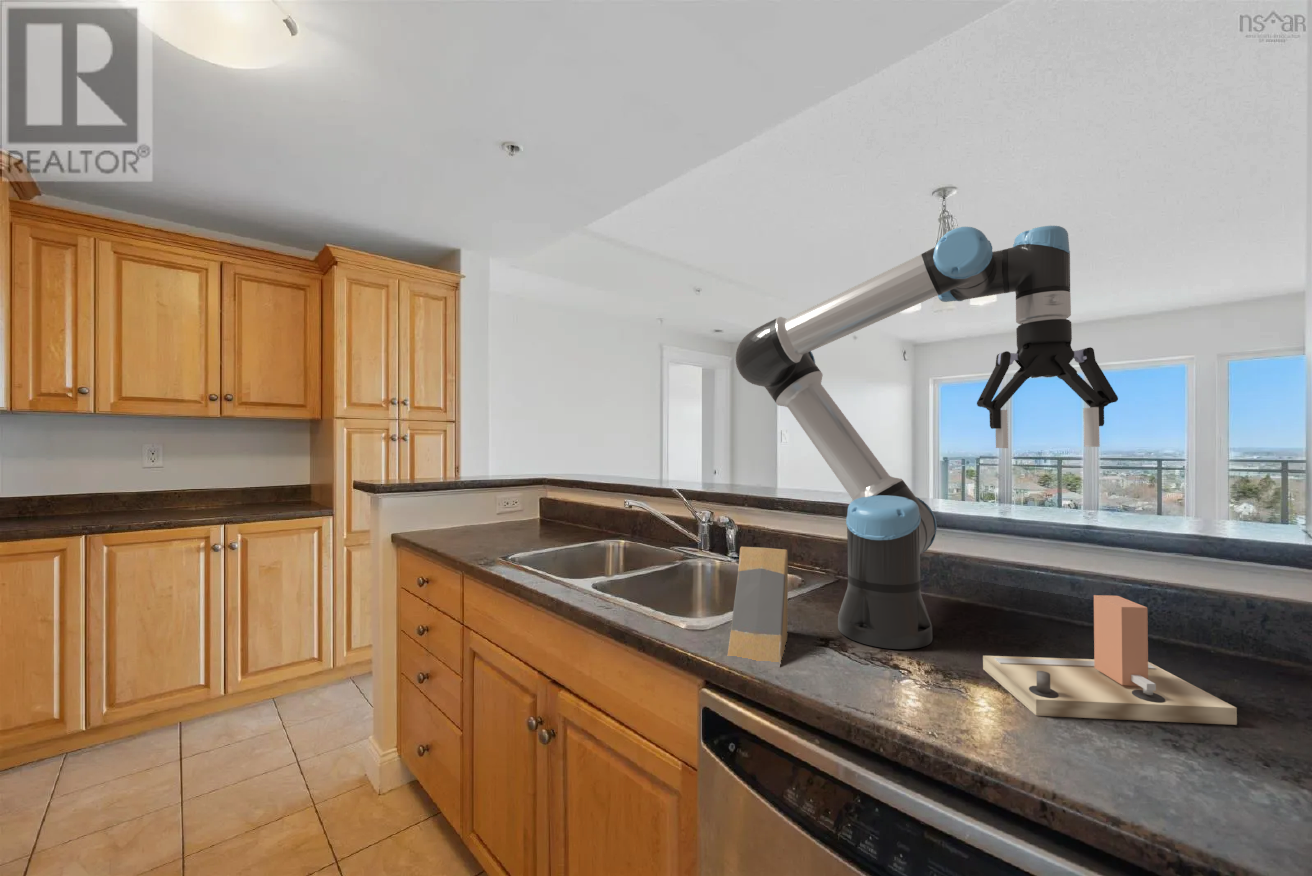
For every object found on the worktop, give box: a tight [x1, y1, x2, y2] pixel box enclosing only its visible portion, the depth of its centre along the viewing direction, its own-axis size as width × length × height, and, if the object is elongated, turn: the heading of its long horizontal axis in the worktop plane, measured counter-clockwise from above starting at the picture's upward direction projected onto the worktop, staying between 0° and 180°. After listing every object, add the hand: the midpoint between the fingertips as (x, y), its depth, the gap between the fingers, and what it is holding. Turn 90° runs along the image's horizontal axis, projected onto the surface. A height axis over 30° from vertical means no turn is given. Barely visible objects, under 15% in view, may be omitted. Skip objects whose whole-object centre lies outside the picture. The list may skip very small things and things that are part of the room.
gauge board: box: [982, 655, 1238, 726], centre depth 70 cm, size 22×13×4 cm, turn 83°
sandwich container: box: [727, 546, 789, 663], centre depth 87 cm, size 9×15×15 cm, turn 162°
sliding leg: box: [1093, 594, 1156, 695], centre depth 68 cm, size 3×8×10 cm, turn 173°
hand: (1046, 447), depth 89 cm, fingers open, 13 cm apart
